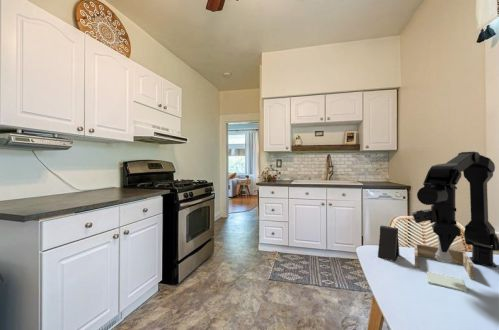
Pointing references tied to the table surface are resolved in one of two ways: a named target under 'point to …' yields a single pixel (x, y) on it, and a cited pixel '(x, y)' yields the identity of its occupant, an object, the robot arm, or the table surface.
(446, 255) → the rook chess piece
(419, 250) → the open box
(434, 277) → the sage mat
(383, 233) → the phone stand
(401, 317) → the table surface
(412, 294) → the table surface
